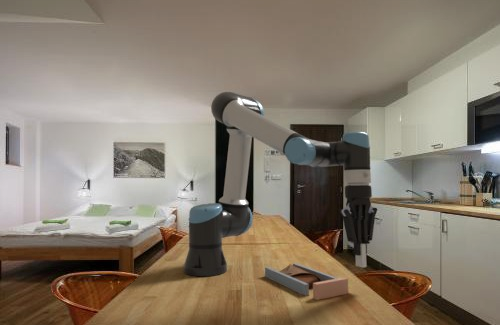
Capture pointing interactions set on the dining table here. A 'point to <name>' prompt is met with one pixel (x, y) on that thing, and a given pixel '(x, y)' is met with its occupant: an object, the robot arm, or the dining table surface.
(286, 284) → the channel
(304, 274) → the sunglasses case
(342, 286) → the gate
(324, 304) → the dining table surface
